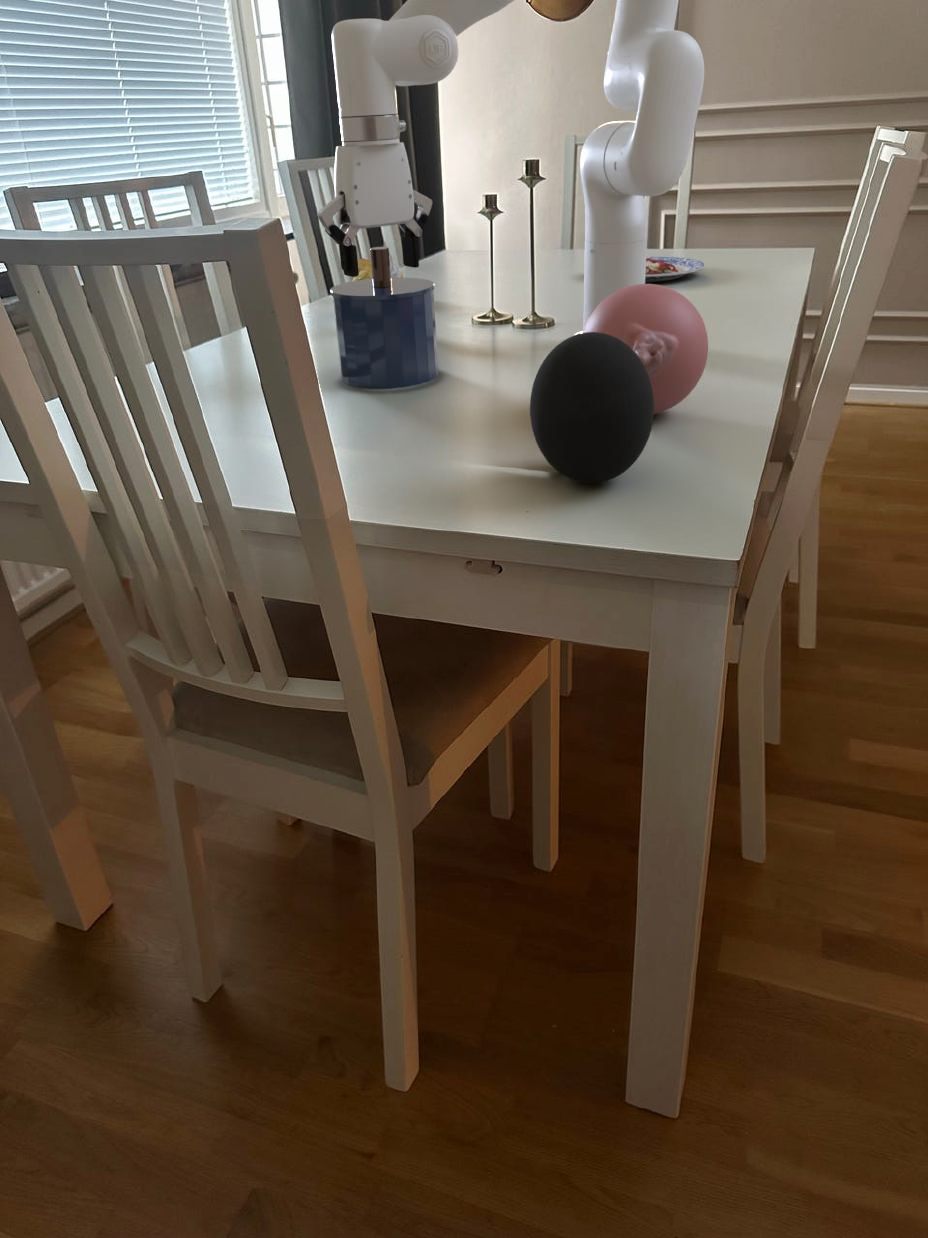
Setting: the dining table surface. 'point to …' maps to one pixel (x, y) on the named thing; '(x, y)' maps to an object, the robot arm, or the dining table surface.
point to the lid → (382, 282)
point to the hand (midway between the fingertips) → (381, 270)
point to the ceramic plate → (670, 268)
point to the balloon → (657, 337)
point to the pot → (387, 341)
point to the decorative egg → (592, 407)
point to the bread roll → (365, 270)
